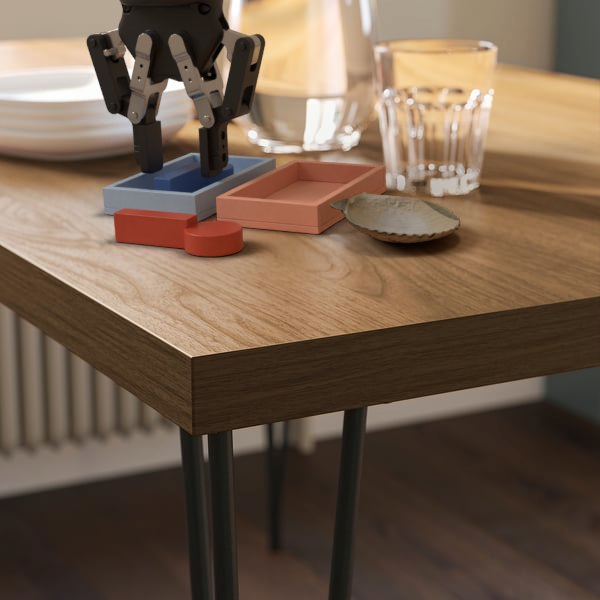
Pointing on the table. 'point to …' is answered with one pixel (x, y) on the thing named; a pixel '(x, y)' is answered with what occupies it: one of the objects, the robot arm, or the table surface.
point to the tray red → (299, 195)
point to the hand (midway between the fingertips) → (181, 172)
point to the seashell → (397, 217)
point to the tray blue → (202, 202)
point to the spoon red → (178, 232)
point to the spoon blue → (188, 179)
